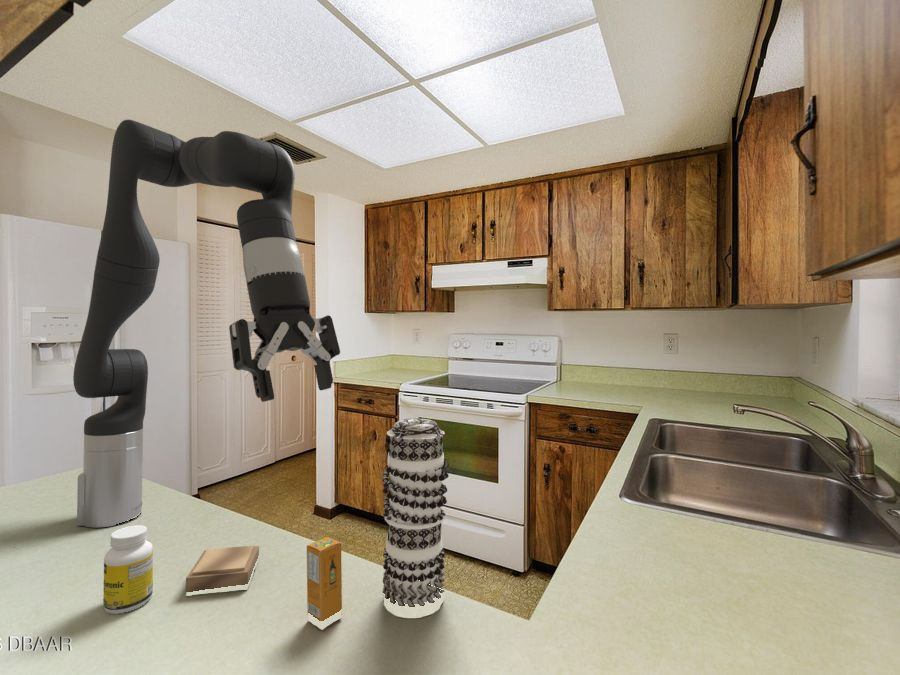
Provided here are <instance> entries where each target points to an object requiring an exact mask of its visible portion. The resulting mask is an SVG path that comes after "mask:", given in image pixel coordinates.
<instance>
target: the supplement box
mask: <svg viewBox="0 0 900 675" xmlns="http://www.w3.org/2000/svg"><path fill="white" fill-rule="evenodd" d="M342 570H343V569H342V542H340V541H338V540H336V539H333V538H330V537H328V536H325V537H323V538H321V539H317V540H316V541H314V542H312V543H309V544H307V545H306V590H307V592H306V594H307V596H306V597H307V599H306V600H307V603H306V604H307V614H308V613H310V614H311V615H313V617H315V618H317V619H318V620H319V621H324V620H325V619H327V618H329V617H330V616H332V615H334V614H335V613H337V612H339V611H340V610H341V609H342V610H343V604H342V603H343V599H342V598H343V594H342V588H343V586H342V585H343V584H342V583H343V581H342V580H343V579H342V577H343V576H342Z"/></svg>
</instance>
